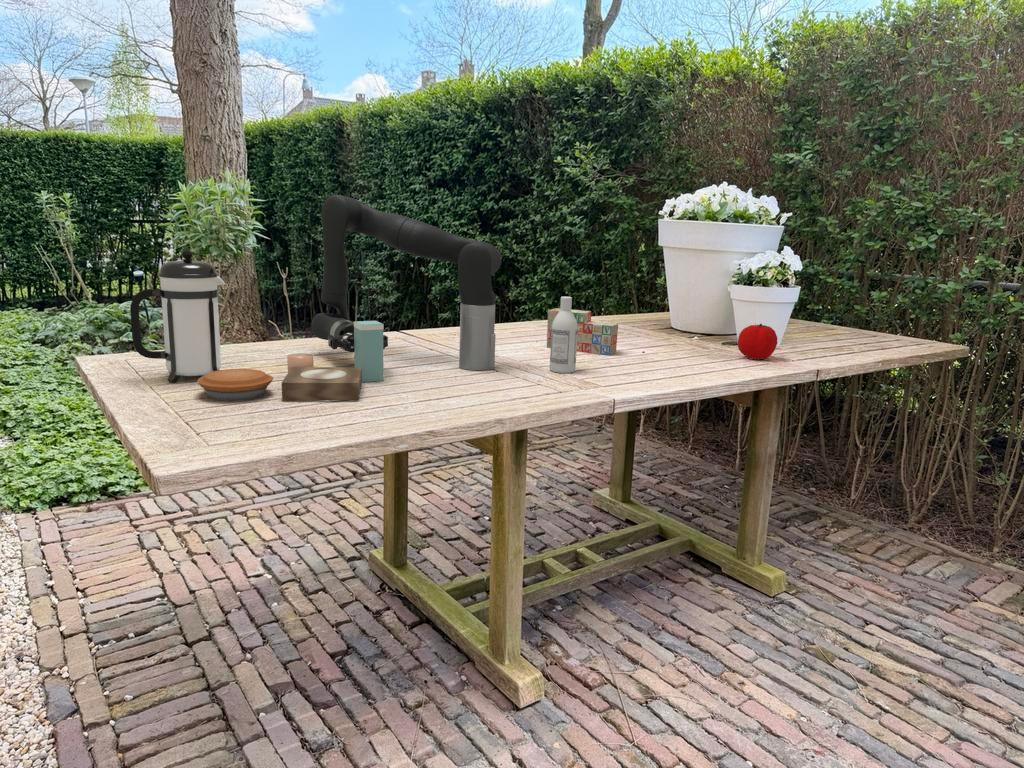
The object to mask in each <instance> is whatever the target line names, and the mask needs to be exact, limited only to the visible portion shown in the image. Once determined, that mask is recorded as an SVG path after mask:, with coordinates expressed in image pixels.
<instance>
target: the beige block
mask: <svg viewBox="0 0 1024 768" xmlns="http://www.w3.org/2000/svg"><path fill="white" fill-rule="evenodd" d="M286 358H287V359H286V361H287V373H288V372H289V371H290V369H291V368H292V367H315V366H314V355H313V354H310V353H304V352H303V353H302V352H301V353H290V354H287V356H286Z"/></svg>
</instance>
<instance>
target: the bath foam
mask: <svg viewBox="0 0 1024 768" xmlns="http://www.w3.org/2000/svg"><path fill="white" fill-rule="evenodd" d="M572 302H573V297H571V296H561V297H560V308H559V309H560V311H559V313H558V314H557V316H556V317H555V319H554V321H553V324H552V332H551V348H550V352H549V353H550V356H549V370H550V371H551V372H552V373H555V374H571V373H574V372H575V371H576V363H577V334H578V326H577V321H576V319H575V317H574V315H573V313H572V311H571V310H572V305H573V304H572Z"/></svg>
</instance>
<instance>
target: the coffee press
mask: <svg viewBox="0 0 1024 768" xmlns="http://www.w3.org/2000/svg"><path fill="white" fill-rule="evenodd" d="M193 255H194V254H193V252H192V250H189V249H184V250H182V252H181V257H182V258H183V260H172V261H168V262H165V263H163V264H162V265H161V266H160V267H159V268H160V269H159V271H157V276H158V278H159V280H160V288H159V289H157V288H156V289H154V288H153V289H152V288H147V289H144V290H140V291H139V292H137V293H136V294H135V295H134V296H133V298H132V300H131V303H130V309H129V311H130V323H131V324H130V327H131V328H130V329H131V337H132V343H133V347H134V349H135V350H136V352H137V353H138V354H139V355H141V356H142V357H144V358H147V359H153V360H155V359H156V360H159V359H160V360H161V359H162V360H165V366H166V369H167V371H168V373H169V375H168V377H167V382H168V383H173V384H176V383H177V382H178V380H179V379H180V378H181V377H193V376H194V377H196V376H197V377H198V376H199V377H200V376H204V375H206V374H208V373H210V372H214V371H218V370H221V367H222V356H221V337H220V336H221V335H220V334H221V332H220V318H219V303H218V300H219V298H218V297H219V294H220V293H219V288H218V286H225V285H226V283H225V282H224V279H222V278H221V277H220V276H219V272H217V271H216V268H215V266H214V265H213V264H211V263H209V262H206V261H202V260H201V261H200V260H192V258H193ZM152 297H160V298H161V311H162V324H163V325H162V326H163V327H162V328H163V336H164V337H163V339H164V340H163V341H164V350H160V351H159V350H157V351H156V350H154V351H153V350H148V349H147V348H145V346H144V345H143V343H142V336H141V332H142V331H141V323H140V321H141V319H140V304H141V303H142V301H143V300H144V299H147V298H152Z"/></svg>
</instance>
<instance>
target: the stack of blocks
mask: <svg viewBox="0 0 1024 768" xmlns="http://www.w3.org/2000/svg"><path fill="white" fill-rule="evenodd" d="M559 311H560V308H557V307H556V308H552V309H548V310H547V329H546V330H547V332H546V334H547V335H546V348H547V349H548V348H549V349H551V332H552V324H553V321H554V319H555V317H556V316H557V314H558V313H559ZM571 311H572V313H573V315H574V317H575V319H576V321H577V326H578V334H577V351H576V353H577V352H578V353H587V354H594V355H595V354H596V355H602V356H612V355H615V354H616V353H617V345H618V344H617V343H618V332H619V331H618V330H619V323H615V322H614V323H612V322H607V321H606V322H604V321H595V320H592V311H591V310H581V309H571Z"/></svg>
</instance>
